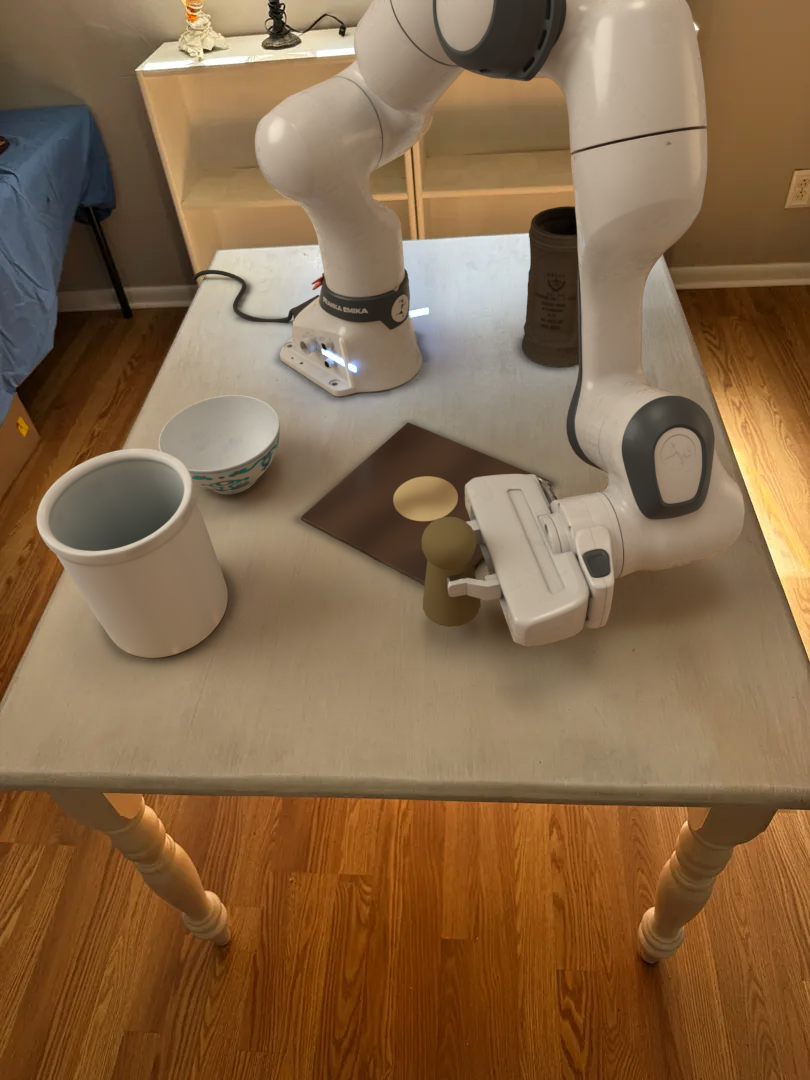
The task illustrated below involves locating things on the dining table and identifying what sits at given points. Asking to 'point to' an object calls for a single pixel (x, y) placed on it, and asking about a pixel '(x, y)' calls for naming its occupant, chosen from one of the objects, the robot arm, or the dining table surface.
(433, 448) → the mat
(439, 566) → the olive brown pawn
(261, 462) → the chinaware
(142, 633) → the utensil holder
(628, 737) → the dining table surface
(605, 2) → the robot arm
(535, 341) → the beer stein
